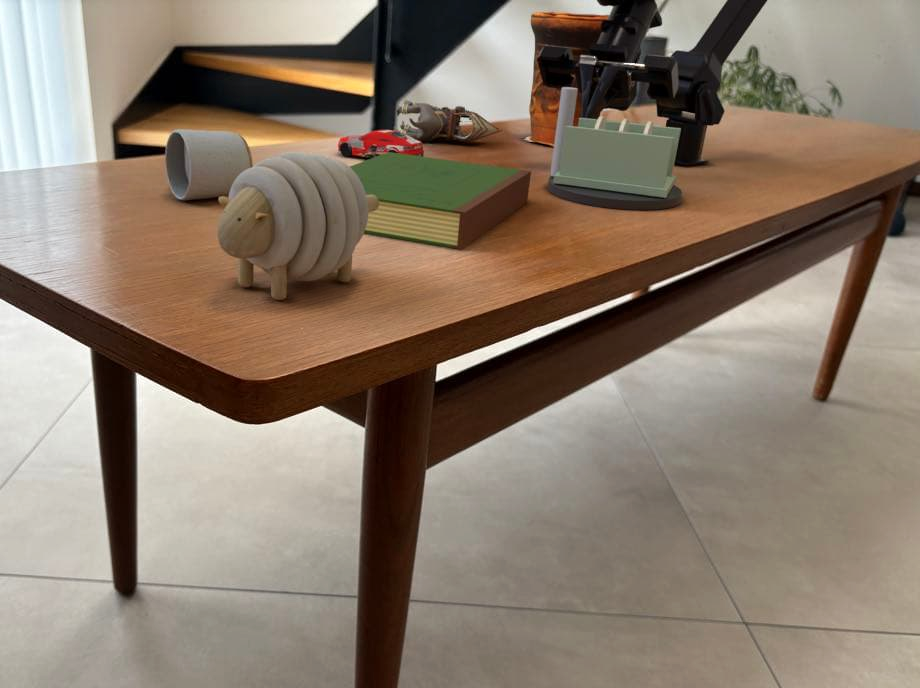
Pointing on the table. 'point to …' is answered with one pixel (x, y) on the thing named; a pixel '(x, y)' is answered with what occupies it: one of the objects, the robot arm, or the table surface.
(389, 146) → the race car
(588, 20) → the vessel
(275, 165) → the toy sheep
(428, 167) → the hardcover book
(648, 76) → the robot arm
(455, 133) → the figurine
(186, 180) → the ceramic mug
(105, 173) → the table surface
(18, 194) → the table surface
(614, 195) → the turntable
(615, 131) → the dish rack
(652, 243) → the table surface
